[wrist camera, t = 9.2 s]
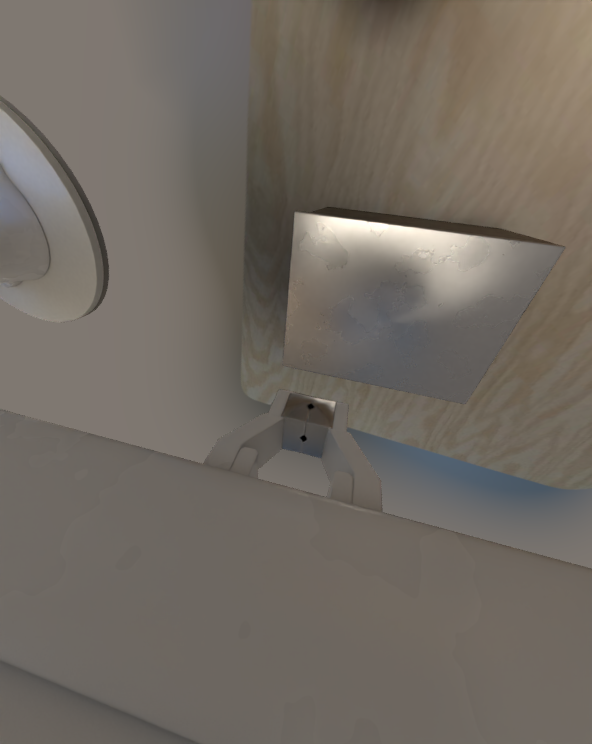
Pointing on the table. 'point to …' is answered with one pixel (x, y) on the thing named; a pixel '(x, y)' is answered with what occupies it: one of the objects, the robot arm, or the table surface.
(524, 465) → the table surface
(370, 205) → the table surface
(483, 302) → the lid
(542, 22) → the table surface
